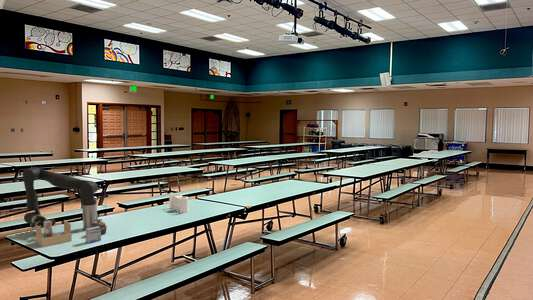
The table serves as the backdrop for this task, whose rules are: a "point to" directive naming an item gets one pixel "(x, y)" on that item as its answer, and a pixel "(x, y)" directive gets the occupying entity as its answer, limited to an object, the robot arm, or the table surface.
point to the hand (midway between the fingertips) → (46, 225)
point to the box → (47, 229)
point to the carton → (53, 236)
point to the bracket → (179, 203)
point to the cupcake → (100, 225)
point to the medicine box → (93, 234)
